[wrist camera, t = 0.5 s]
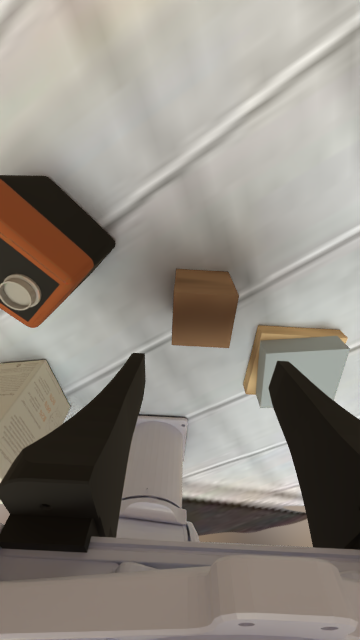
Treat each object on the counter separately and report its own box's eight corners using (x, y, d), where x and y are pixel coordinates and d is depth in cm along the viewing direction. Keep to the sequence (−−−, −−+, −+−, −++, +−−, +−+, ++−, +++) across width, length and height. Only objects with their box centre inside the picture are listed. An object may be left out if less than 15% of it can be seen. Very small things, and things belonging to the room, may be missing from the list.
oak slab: (310, 384, 28) (318, 398, 26) (242, 380, 28) (245, 394, 26) (336, 326, 24) (347, 338, 22) (256, 322, 24) (262, 333, 22)
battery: (45, 172, 17) (-92, 166, 9) (119, 242, 20) (67, 291, 11) (17, 217, 19) (-124, 249, 10) (88, 276, 21) (22, 343, 13)
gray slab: (322, 390, 26) (331, 405, 24) (255, 393, 26) (260, 408, 25) (337, 335, 22) (349, 348, 21) (260, 340, 23) (266, 353, 21)
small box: (-1, 361, 27) (-97, 456, 18) (47, 358, 26) (-26, 452, 17) (30, 410, 31) (-36, 507, 22) (72, 407, 30) (23, 505, 21)
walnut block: (220, 316, 23) (228, 348, 19) (174, 313, 23) (171, 344, 19) (228, 271, 21) (238, 295, 17) (176, 268, 21) (173, 292, 17)
